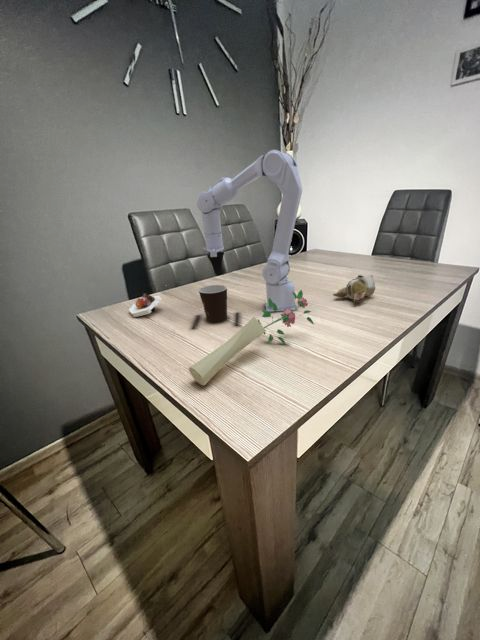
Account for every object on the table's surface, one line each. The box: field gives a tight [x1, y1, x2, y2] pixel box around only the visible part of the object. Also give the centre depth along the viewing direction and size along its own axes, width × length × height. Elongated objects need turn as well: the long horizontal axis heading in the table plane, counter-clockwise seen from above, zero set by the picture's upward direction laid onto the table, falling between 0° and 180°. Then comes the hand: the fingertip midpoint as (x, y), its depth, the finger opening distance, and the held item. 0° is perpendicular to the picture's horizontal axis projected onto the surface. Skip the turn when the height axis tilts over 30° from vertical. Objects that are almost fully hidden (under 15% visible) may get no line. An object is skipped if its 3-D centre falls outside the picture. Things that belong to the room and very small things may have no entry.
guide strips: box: [191, 312, 240, 330], centre depth 87 cm, size 14×10×1 cm
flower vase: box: [188, 289, 315, 386], centre depth 66 cm, size 12×12×35 cm
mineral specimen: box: [128, 292, 163, 318], centre depth 95 cm, size 12×12×7 cm
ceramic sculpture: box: [332, 274, 376, 303], centre depth 96 cm, size 11×9×15 cm
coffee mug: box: [198, 284, 228, 324], centre depth 87 cm, size 12×9×10 cm
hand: (218, 274), depth 98 cm, fingers closed
